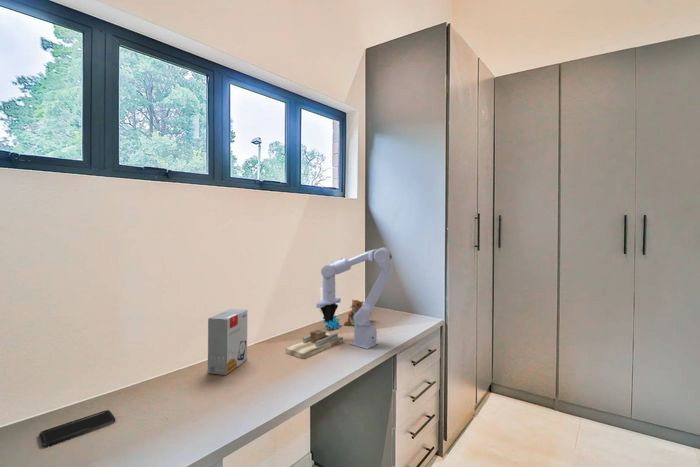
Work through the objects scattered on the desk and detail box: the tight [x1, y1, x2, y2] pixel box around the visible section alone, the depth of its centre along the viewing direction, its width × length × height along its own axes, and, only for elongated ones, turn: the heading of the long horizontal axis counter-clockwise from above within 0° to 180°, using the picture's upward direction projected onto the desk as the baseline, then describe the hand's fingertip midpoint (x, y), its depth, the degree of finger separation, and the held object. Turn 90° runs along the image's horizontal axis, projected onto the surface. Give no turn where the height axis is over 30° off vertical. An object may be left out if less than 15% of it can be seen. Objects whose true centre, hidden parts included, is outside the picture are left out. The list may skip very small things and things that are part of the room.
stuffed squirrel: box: [343, 299, 365, 326], centre depth 186 cm, size 10×14×13 cm
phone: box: [38, 410, 116, 448], centre depth 91 cm, size 8×1×15 cm
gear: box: [322, 314, 341, 330], centre depth 180 cm, size 11×6×10 cm
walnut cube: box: [309, 329, 326, 343], centre depth 152 cm, size 4×4×4 cm
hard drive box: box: [207, 308, 248, 376], centre depth 131 cm, size 16×8×20 cm, turn 168°
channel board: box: [285, 330, 344, 360], centre depth 151 cm, size 10×26×4 cm, turn 143°
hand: (328, 320), depth 158 cm, fingers closed
